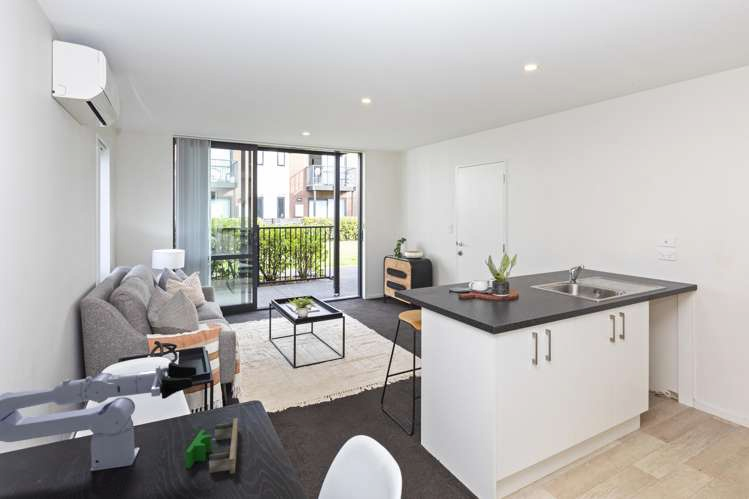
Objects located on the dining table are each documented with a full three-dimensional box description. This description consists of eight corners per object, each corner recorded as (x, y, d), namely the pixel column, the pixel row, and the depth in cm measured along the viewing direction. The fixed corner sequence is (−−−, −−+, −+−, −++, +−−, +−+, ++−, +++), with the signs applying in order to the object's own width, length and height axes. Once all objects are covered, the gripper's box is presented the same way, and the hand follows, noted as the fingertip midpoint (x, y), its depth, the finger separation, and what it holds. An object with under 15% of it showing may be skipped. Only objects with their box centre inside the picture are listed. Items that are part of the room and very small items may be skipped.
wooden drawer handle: (208, 477, 103) (208, 461, 103) (216, 433, 124) (216, 420, 124) (234, 473, 105) (234, 457, 104) (238, 430, 126) (237, 417, 125)
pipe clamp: (200, 468, 107) (200, 451, 107) (186, 468, 107) (185, 452, 107) (214, 444, 119) (214, 429, 118) (201, 444, 118) (201, 429, 118)
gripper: (130, 380, 103) (189, 373, 107) (145, 358, 117) (196, 353, 121) (133, 406, 104) (190, 399, 108) (147, 381, 118) (198, 375, 122)
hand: (194, 376), depth 114 cm, fingers open, 7 cm apart
